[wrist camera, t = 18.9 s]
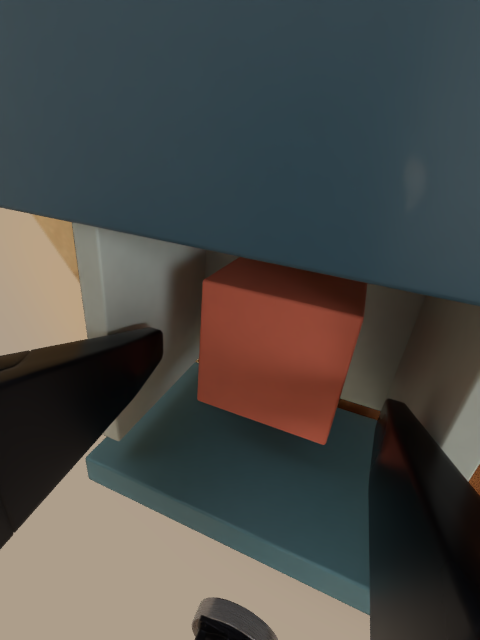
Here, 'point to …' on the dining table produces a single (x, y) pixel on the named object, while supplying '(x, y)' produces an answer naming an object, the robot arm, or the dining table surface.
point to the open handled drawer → (262, 440)
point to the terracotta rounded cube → (278, 344)
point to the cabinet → (255, 130)
